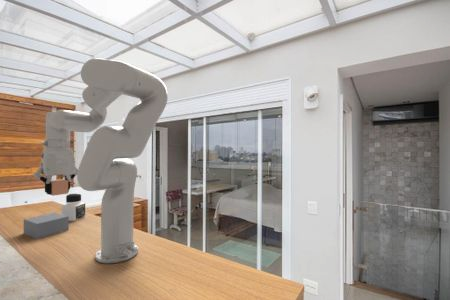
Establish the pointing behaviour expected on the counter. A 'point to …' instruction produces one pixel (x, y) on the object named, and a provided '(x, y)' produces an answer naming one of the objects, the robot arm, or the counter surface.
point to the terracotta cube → (59, 187)
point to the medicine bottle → (73, 207)
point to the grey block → (45, 225)
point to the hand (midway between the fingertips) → (57, 192)
